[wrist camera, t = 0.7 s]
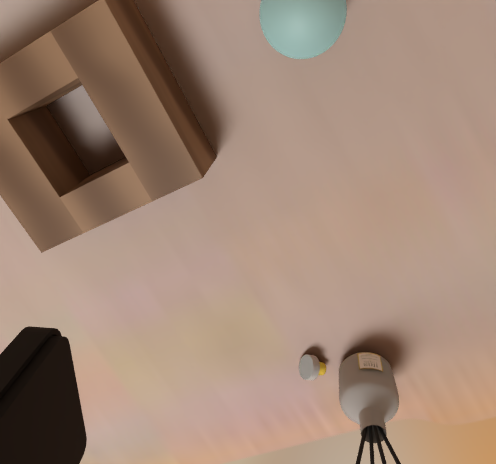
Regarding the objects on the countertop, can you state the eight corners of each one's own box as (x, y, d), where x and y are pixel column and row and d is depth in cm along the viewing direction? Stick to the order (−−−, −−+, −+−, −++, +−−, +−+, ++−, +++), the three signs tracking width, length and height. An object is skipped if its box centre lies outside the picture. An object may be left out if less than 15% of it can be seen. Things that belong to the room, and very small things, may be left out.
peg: (322, -35, 30) (325, -55, 21) (346, 27, 31) (359, 34, 22) (265, -2, 31) (244, -8, 22) (291, 56, 32) (281, 73, 23)
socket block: (132, -1, 32) (102, -3, 28) (216, 157, 36) (202, 177, 31) (-18, 92, 36) (-65, 104, 32) (72, 225, 40) (41, 252, 35)
